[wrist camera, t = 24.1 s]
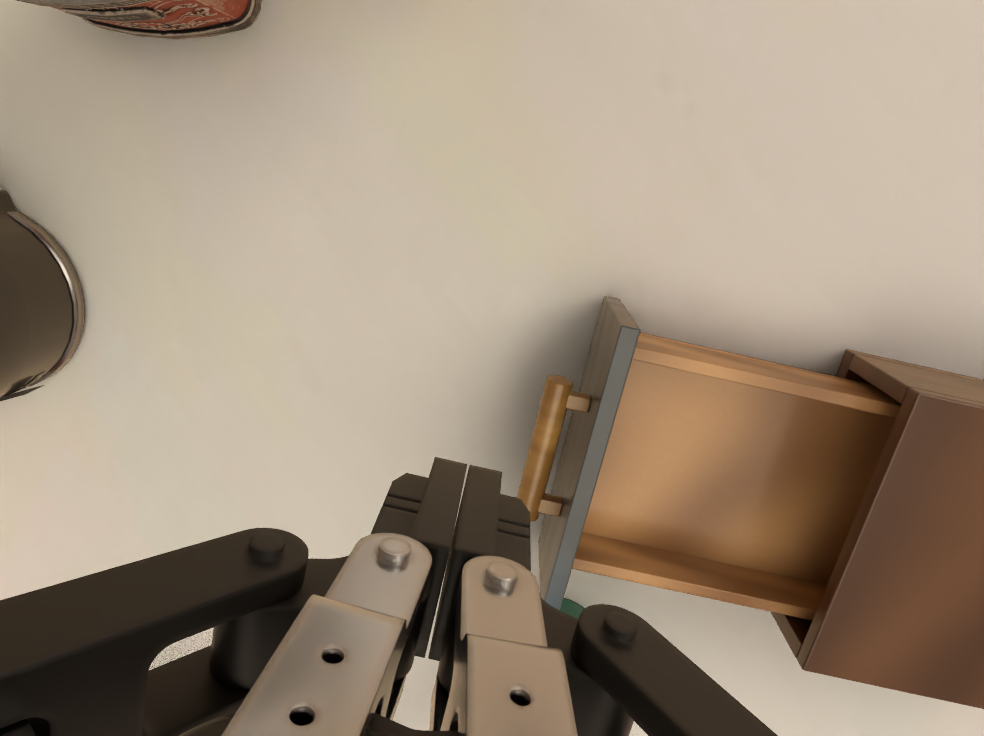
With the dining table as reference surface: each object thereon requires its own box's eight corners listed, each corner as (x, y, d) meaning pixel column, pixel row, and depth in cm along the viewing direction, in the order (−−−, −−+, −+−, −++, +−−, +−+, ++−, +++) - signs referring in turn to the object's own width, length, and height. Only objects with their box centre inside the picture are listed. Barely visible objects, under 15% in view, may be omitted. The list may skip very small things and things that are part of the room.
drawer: (499, 532, 38) (495, 603, 32) (561, 285, 34) (569, 313, 28) (826, 603, 38) (882, 686, 32) (925, 367, 34) (1009, 412, 28)
